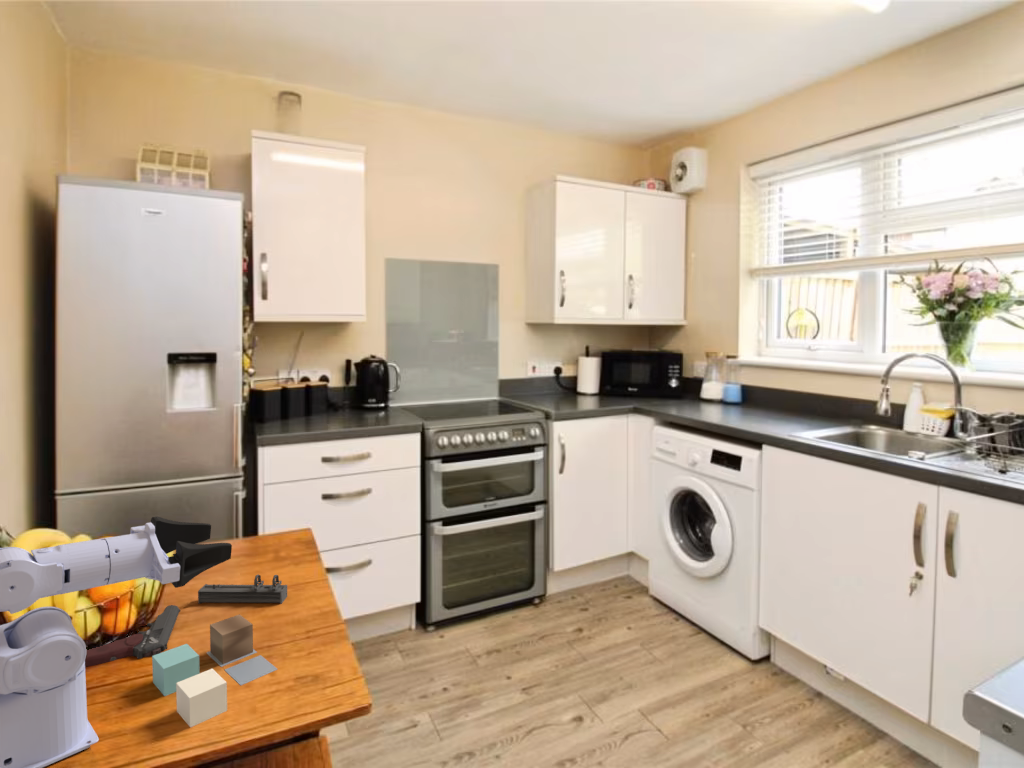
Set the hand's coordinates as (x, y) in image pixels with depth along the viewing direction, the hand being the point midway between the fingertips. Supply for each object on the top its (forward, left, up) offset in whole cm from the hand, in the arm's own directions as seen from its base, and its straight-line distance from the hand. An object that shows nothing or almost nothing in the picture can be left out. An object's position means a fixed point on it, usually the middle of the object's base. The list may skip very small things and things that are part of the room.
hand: (219, 540), depth 82 cm
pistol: (-6, +21, -21) cm, 30 cm away
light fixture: (+12, +21, -21) cm, 32 cm away
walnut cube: (+3, +5, -20) cm, 21 cm away
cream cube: (-5, -6, -21) cm, 22 cm away
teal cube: (-5, +3, -21) cm, 21 cm away
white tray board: (+2, +2, -20) cm, 21 cm away
